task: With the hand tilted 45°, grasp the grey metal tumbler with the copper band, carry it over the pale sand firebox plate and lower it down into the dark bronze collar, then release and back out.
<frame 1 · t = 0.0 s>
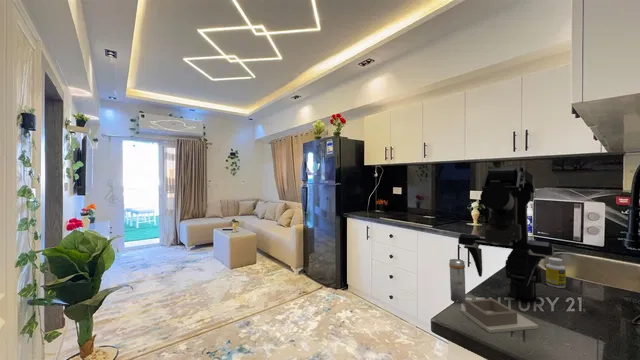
hand: (502, 280, 64), 15 cm above the counter, tool pointing down, fingers open, 9 cm apart
firebox: (496, 319, 76), on the counter
supplement bottle: (556, 286, 98), on the counter
grey metal tumbler: (458, 300, 88), on the counter
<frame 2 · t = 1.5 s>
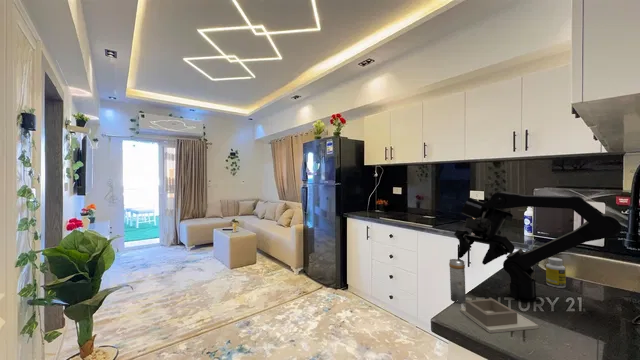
hand: (470, 260, 89), 13 cm above the counter, tool tilted 45°, fingers open, 9 cm apart
nothing on the counter moved.
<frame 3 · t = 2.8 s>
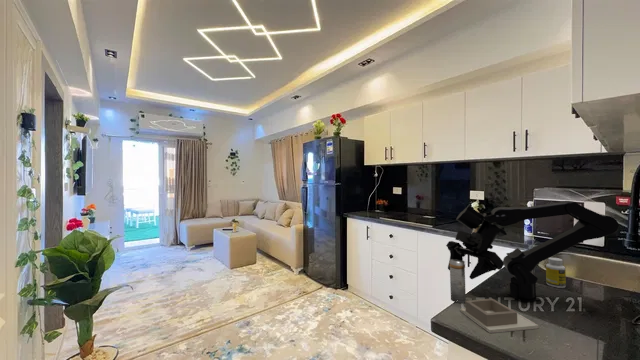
hand: (459, 273, 89), 9 cm above the counter, tool tilted 45°, fingers open, 9 cm apart
nothing on the counter moved.
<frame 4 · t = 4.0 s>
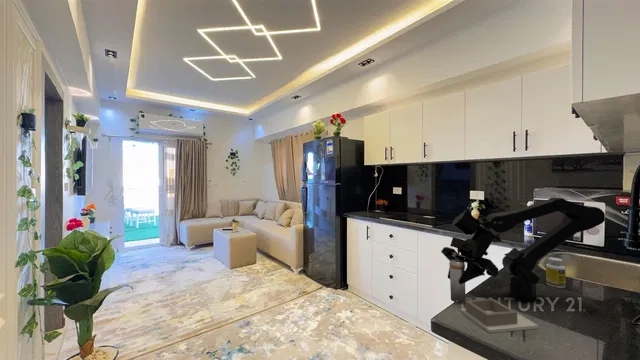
hand: (454, 280, 88), 7 cm above the counter, tool tilted 45°, fingers closed on grey metal tumbler, 4 cm apart
grey metal tumbler: (458, 300, 88), on the counter, touching gripper
everything else where it was.
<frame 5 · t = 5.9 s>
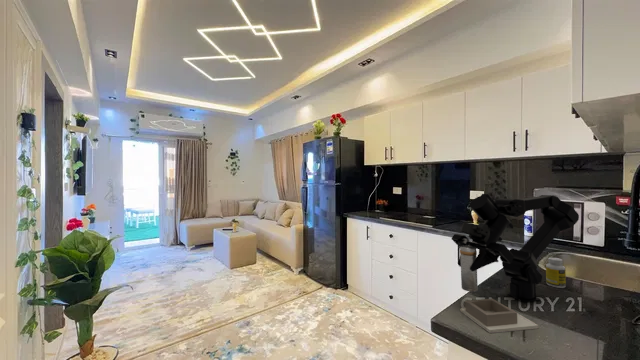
hand: (465, 268, 83), 12 cm above the counter, tool tilted 45°, fingers closed on grey metal tumbler, 4 cm apart
grey metal tumbler: (469, 288, 83), point 6 cm above the counter, touching gripper
everything else where it was.
when the fingers open (9 cm above the counter, at t = 7.8 s): grey metal tumbler drops 1 cm, resting on firebox.
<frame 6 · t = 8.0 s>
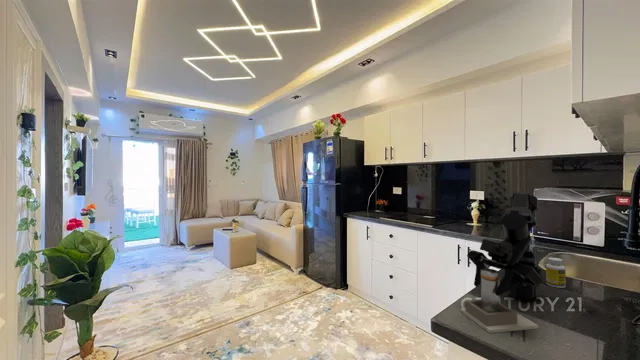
hand: (485, 290, 75), 9 cm above the counter, tool tilted 45°, fingers open, 6 cm apart
grey metal tumbler: (490, 316, 75), point 1 cm above the counter, touching firebox
everything else where it was.
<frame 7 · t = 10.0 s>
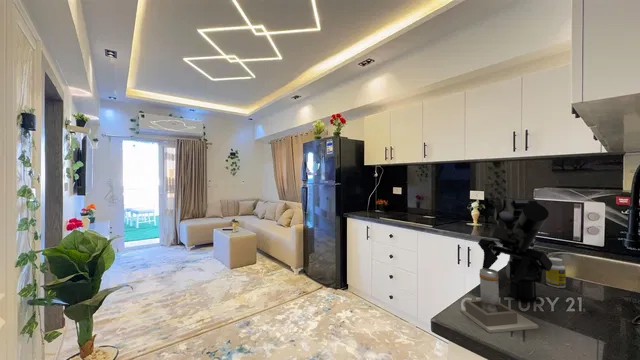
hand: (497, 275, 78), 12 cm above the counter, tool tilted 45°, fingers open, 9 cm apart
nothing on the counter moved.
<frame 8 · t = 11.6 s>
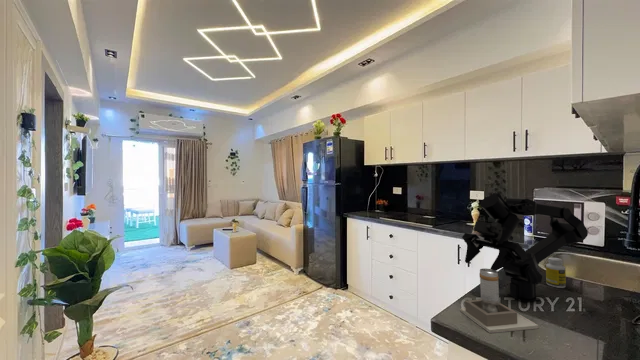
hand: (478, 266, 83), 13 cm above the counter, tool tilted 45°, fingers open, 9 cm apart
nothing on the counter moved.
at the end: grey metal tumbler 0.1 cm from the target spot on the firebox, point 0.8 cm above the firebox's base; grey metal tumbler tilted 0°; the gripper is holding nothing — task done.
